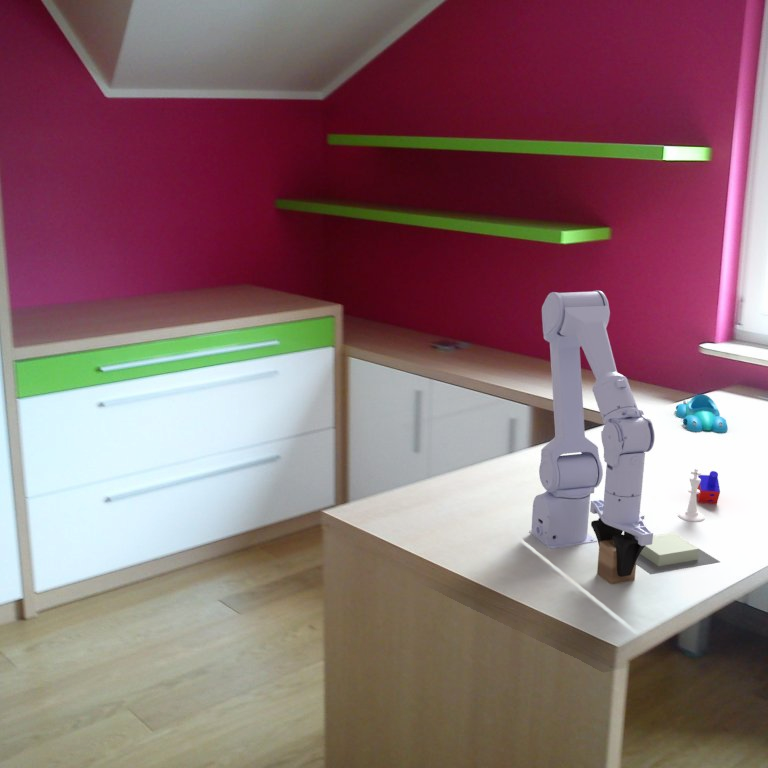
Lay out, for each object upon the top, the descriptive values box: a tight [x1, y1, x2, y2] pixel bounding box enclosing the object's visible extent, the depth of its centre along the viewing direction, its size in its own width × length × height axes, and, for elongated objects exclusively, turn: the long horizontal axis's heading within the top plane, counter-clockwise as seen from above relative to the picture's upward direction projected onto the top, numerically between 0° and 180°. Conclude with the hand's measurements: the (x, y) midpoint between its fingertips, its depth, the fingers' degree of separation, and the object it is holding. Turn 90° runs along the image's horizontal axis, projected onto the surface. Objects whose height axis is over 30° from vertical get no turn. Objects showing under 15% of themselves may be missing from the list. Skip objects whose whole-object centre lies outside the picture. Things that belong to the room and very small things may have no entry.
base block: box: [640, 532, 700, 566], centre depth 169 cm, size 8×7×2 cm
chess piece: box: [677, 468, 706, 523], centre depth 184 cm, size 5×5×10 cm
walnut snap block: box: [596, 539, 637, 585], centre depth 160 cm, size 4×4×6 cm
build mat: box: [636, 548, 721, 575], centre depth 169 cm, size 14×11×1 cm
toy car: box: [674, 393, 729, 434], centre depth 246 cm, size 11×18×7 cm, turn 174°
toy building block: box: [696, 470, 721, 505], centre depth 194 cm, size 4×4×8 cm
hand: (616, 569), depth 160 cm, fingers closed on walnut snap block, 4 cm apart
